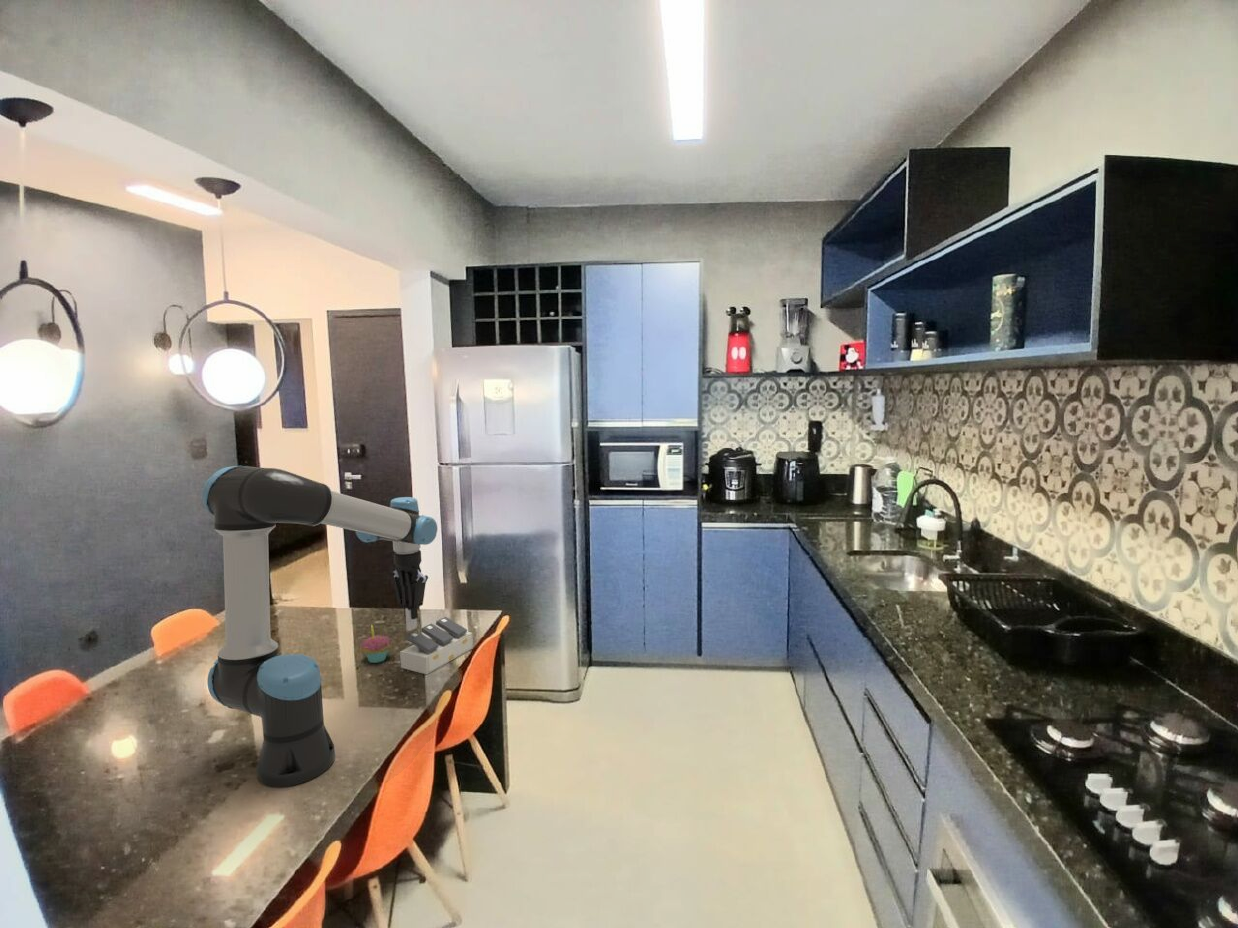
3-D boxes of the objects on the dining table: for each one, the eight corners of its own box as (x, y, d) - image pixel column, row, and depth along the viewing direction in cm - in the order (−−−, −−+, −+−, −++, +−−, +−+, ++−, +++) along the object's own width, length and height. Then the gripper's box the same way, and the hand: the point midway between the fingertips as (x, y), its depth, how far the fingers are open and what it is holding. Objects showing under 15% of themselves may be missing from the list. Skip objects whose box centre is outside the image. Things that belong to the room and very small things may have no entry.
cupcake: (385, 665, 186) (382, 626, 184) (356, 665, 186) (353, 626, 184) (396, 653, 194) (393, 615, 193) (368, 653, 194) (366, 616, 193)
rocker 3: (457, 637, 192) (458, 633, 191) (435, 624, 195) (436, 620, 195) (466, 632, 195) (467, 629, 195) (444, 619, 199) (445, 616, 198)
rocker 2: (443, 645, 186) (443, 641, 186) (421, 631, 190) (421, 627, 189) (452, 640, 190) (453, 636, 189) (430, 626, 193) (431, 623, 193)
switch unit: (427, 674, 179) (426, 653, 179) (401, 667, 184) (399, 646, 183) (473, 648, 197) (473, 628, 196) (448, 642, 202) (447, 623, 201)
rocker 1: (427, 653, 181) (428, 649, 180) (405, 638, 184) (406, 635, 184) (437, 647, 184) (438, 644, 184) (415, 633, 188) (416, 630, 187)
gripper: (433, 549, 183) (437, 627, 186) (400, 545, 189) (405, 620, 192) (414, 556, 176) (419, 637, 179) (380, 551, 182) (385, 629, 185)
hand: (411, 628), depth 185 cm, fingers closed
